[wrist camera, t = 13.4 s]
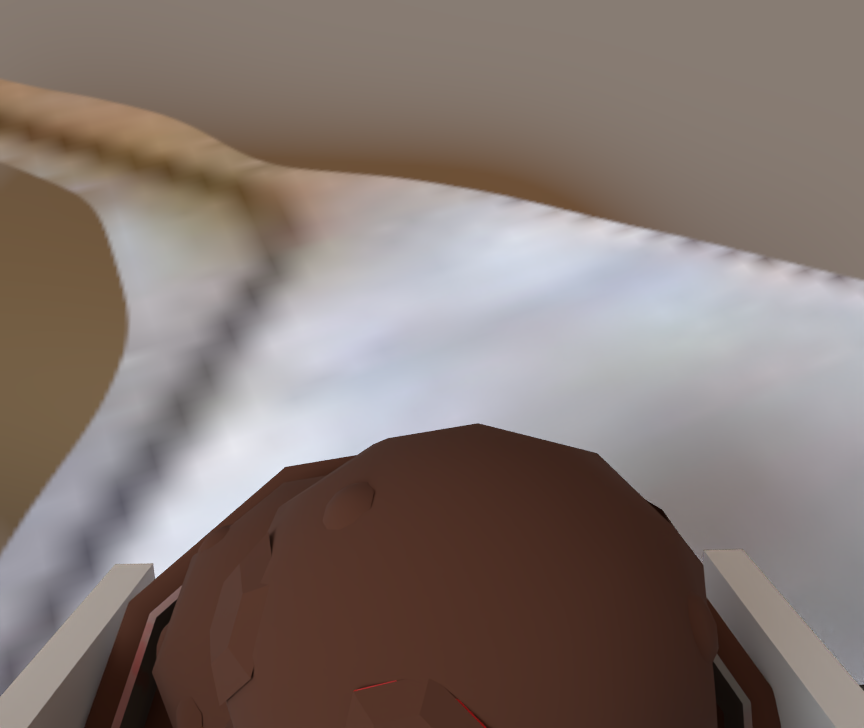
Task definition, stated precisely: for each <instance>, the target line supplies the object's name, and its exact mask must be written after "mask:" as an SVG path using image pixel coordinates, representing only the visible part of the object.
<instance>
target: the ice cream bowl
mask: <svg viewBox="0 0 864 728" xmlns="http://www.w3.org/2000/svg"><path fill="white" fill-rule="evenodd" d="M84 728H781V723H780V718H779V714H778V709H777V704H776V700H775V696H774V692H773V689H772V687H771V686H770V684H769V683H768V682H767V680H766V679H765V678H764V676H763V675H762V673H761V672H760V671H759V669H758V668H757V666H756V665H755V664H754V662H753V661H752V659H751V658H750V657H749V655H748V654H747V653H746V651H745V650H744V648H743V647H742V646H741V644H740V643H739V641H738V640H737V639H736V637H735V636H734V635H733V633H732V632H731V630H730V629H729V628H728V626H727V625H726V623H725V622H724V621H723V619H722V618H721V616H720V615H719V614H718V612H717V611H716V610H715V608H714V607H713V605H712V604H711V603H710V601H709V600H708V598H707V597H706V587H705V576H704V565H703V564H702V563H701V561H700V560H699V559H698V558H697V556H696V555H695V554H694V552H693V551H692V550H691V549H690V547H689V546H688V545H687V543H686V542H685V541H684V539H683V538H682V537H681V536H680V534H679V533H678V531H677V530H676V529H675V527H674V526H673V524H672V523H671V521H670V520H669V519H668V517H667V516H666V514H665V513H664V512H663V510H662V509H660V508H658V507H657V506H655V505H653V504H652V503H650V502H648V501H647V500H645V499H644V498H643V497H642V496H641V495H640V494H639V493H638V492H637V491H636V490H635V489H634V488H632V487H631V486H630V485H629V484H628V483H627V482H626V481H625V480H624V479H623V478H622V477H621V476H620V475H619V474H618V473H617V472H616V471H615V470H614V469H613V468H612V467H611V466H610V465H609V464H608V463H607V462H606V461H605V460H603V459H602V458H601V457H600V456H599V455H598V454H597V453H594V452H590V451H586V450H582V449H578V448H574V447H570V446H566V445H562V444H558V443H554V442H550V441H546V440H542V439H538V438H534V437H530V436H526V435H522V434H518V433H514V432H510V431H506V430H502V429H498V428H494V427H490V426H486V425H482V424H472V425H466V426H460V427H454V428H447V429H441V430H435V431H429V432H423V433H417V434H411V435H405V436H399V437H393V438H387V439H385V440H383V441H380V442H378V443H376V444H373V445H372V446H370V447H369V448H367V449H366V450H364V451H363V452H361V453H360V454H358V455H355V456H349V457H343V458H337V459H331V460H325V461H319V462H313V463H307V464H301V465H295V466H289V467H285V468H284V469H283V470H281V471H280V472H279V473H278V474H277V475H276V476H274V477H273V478H272V479H271V480H270V481H269V482H268V483H266V484H265V485H264V486H263V487H262V488H261V489H259V490H258V491H257V492H256V493H255V494H254V495H252V496H251V497H250V498H249V499H248V500H247V501H245V502H244V503H243V504H242V505H241V506H240V507H238V508H237V509H236V510H235V511H234V512H233V513H232V514H230V515H229V516H228V517H227V518H226V519H225V520H223V521H222V522H221V523H220V524H219V525H218V526H216V527H215V528H214V529H213V530H212V531H211V532H209V533H208V534H207V535H206V536H205V537H204V538H202V539H201V540H200V541H199V542H198V543H197V544H196V545H194V546H193V547H192V548H191V549H190V550H189V551H187V552H186V553H185V554H184V555H183V556H182V557H180V558H179V559H178V560H177V561H176V562H175V563H173V564H172V565H171V566H170V567H169V568H168V569H166V570H165V571H164V572H163V573H162V574H161V575H160V576H158V577H157V578H156V579H155V580H154V581H153V582H151V583H150V584H149V585H148V586H147V587H146V588H144V589H143V590H142V591H141V592H140V593H139V594H137V595H136V596H135V597H134V598H133V599H132V600H130V601H129V603H128V606H127V608H126V611H125V614H124V617H123V620H122V623H121V625H120V628H119V631H118V634H117V637H116V639H115V642H114V645H113V648H112V651H111V653H110V656H109V659H108V662H107V665H106V668H105V670H104V673H103V676H102V679H101V682H100V684H99V687H98V690H97V693H96V696H95V698H94V701H93V704H92V707H91V710H90V713H89V715H88V718H87V721H86V724H85V727H84Z"/></svg>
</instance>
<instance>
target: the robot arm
mask: <svg viewBox="0 0 864 728" xmlns="http://www.w3.org/2000/svg"><path fill="white" fill-rule="evenodd" d="M703 565H704V576H705V587H706V597H707V598H708V600H709V601H710V603H711V604H712V605H713V607H714V608H715V610H716V611H717V612H718V614H719V615H720V616H721V618H722V619H723V621H724V622H725V623H726V625H727V626H728V628H729V629H730V630H731V632H732V633H733V635H734V636H735V637H736V639H737V640H738V641H739V643H740V644H741V646H742V647H743V648H744V650H745V651H746V653H747V654H748V655H749V657H750V658H751V659H752V661H753V662H754V664H755V665H756V666H757V668H758V669H759V671H760V672H761V673H762V675H763V676H764V678H765V679H766V680H767V682H768V683H769V684H770V686H771V687H772V689H773V692H774V696H775V700H776V704H777V709H778V714H779V718H780V723H781V728H864V685H858V684H857V682H856V681H855V680H854V679H853V678H852V677H851V675H850V674H849V673H848V672H847V671H846V670H845V668H844V667H843V666H842V665H841V664H840V663H839V661H838V660H837V659H836V658H835V657H834V656H833V654H832V653H831V652H830V651H829V650H828V649H827V647H826V646H825V645H824V644H823V643H822V642H821V640H820V639H819V638H818V637H817V636H816V635H815V633H814V632H813V631H812V630H811V629H810V628H809V626H808V625H807V624H806V623H805V622H804V621H803V619H802V618H801V617H800V616H799V615H798V614H797V612H796V611H795V610H794V609H793V608H792V607H791V605H790V604H789V603H788V602H787V601H786V600H785V598H784V597H783V596H782V595H781V594H780V593H779V591H778V590H777V589H776V588H775V587H774V586H773V584H772V583H771V582H770V581H769V580H768V579H767V577H766V576H765V575H764V574H763V573H762V572H761V570H760V569H759V568H758V567H757V566H756V565H755V563H754V562H753V561H752V560H751V559H750V558H749V556H748V555H747V554H746V553H745V552H744V551H743V549H729V550H704V553H703ZM154 580H155V575H154V567H153V563H151V564H115V565H114V566H113V567H112V569H111V570H110V571H109V572H108V573H107V574H106V576H105V577H104V578H103V579H102V580H101V581H100V582H99V584H98V585H97V586H96V587H95V588H94V589H93V591H92V592H91V593H90V594H89V595H88V596H87V597H86V599H85V600H84V601H83V602H82V603H81V604H80V606H79V607H78V608H77V609H76V610H75V611H74V612H73V614H72V615H71V616H70V617H69V618H68V619H67V621H66V622H65V623H64V624H63V625H62V626H61V627H60V629H59V630H58V631H57V632H56V633H55V634H54V636H53V637H52V638H51V639H50V640H49V641H48V642H47V644H46V645H45V646H44V647H43V648H42V649H41V651H40V652H39V653H38V654H37V655H36V656H35V657H34V659H33V660H32V661H31V662H30V663H29V664H28V665H27V667H26V668H25V669H24V670H23V671H22V672H21V674H20V675H19V676H18V677H17V678H16V679H15V680H14V682H13V683H12V684H11V685H10V686H9V687H8V689H7V690H6V691H5V692H4V693H3V694H2V695H1V697H0V728H84V727H85V724H86V721H87V718H88V715H89V713H90V710H91V707H92V704H93V701H94V698H95V696H96V693H97V690H98V687H99V684H100V682H101V679H102V676H103V673H104V670H105V668H106V665H107V662H108V659H109V656H110V653H111V651H112V648H113V645H114V642H115V639H116V637H117V634H118V631H119V628H120V625H121V623H122V620H123V617H124V614H125V611H126V608H127V606H128V603H129V601H130V600H132V599H133V598H134V597H135V596H136V595H137V594H139V593H140V592H141V591H142V590H143V589H144V588H146V587H147V586H148V585H149V584H150V583H151V582H153V581H154Z"/></svg>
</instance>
